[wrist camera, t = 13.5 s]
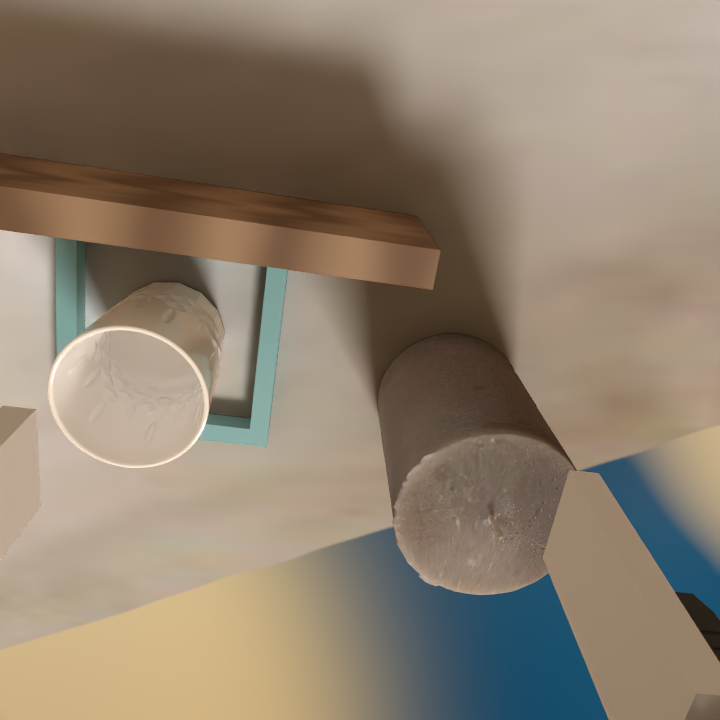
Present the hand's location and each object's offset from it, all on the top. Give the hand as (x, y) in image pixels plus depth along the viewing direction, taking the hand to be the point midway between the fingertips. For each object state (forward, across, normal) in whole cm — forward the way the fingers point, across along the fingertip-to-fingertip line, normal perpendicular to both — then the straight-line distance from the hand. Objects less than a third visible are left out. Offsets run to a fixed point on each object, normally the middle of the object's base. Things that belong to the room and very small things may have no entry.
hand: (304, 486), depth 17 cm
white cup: (+26, -9, -7) cm, 29 cm away
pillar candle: (+27, +9, -9) cm, 30 cm away
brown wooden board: (+26, -9, +2) cm, 28 cm away
